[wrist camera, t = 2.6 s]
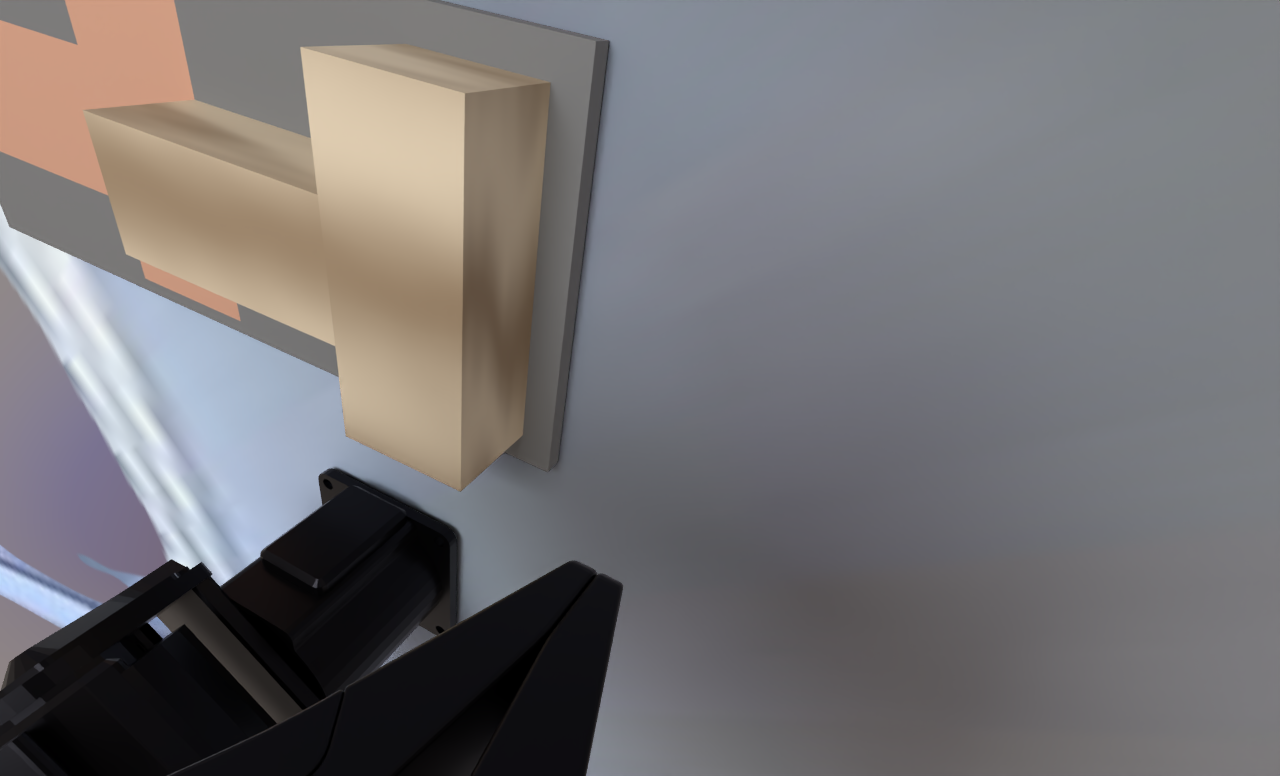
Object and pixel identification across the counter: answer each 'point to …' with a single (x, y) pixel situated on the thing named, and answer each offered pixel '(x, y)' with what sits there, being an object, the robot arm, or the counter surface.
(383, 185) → the t block
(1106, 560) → the counter surface
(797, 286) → the counter surface
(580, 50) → the mat
